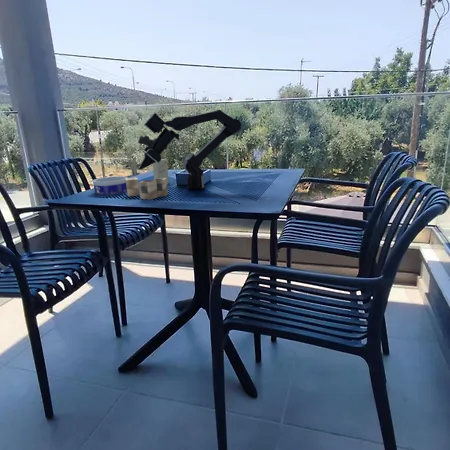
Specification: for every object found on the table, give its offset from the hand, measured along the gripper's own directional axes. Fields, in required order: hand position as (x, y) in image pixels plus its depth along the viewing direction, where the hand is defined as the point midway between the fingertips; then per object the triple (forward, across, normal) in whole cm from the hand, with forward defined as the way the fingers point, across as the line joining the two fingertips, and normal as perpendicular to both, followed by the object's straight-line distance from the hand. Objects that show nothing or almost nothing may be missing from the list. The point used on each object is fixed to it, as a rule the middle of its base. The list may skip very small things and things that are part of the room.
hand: (139, 168), depth 154 cm
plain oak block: (+10, 0, +5) cm, 12 cm away
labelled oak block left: (+3, +7, +13) cm, 15 cm away
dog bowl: (+17, -13, -1) cm, 22 cm away
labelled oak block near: (+6, +10, +9) cm, 15 cm away
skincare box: (0, -19, +15) cm, 25 cm away
